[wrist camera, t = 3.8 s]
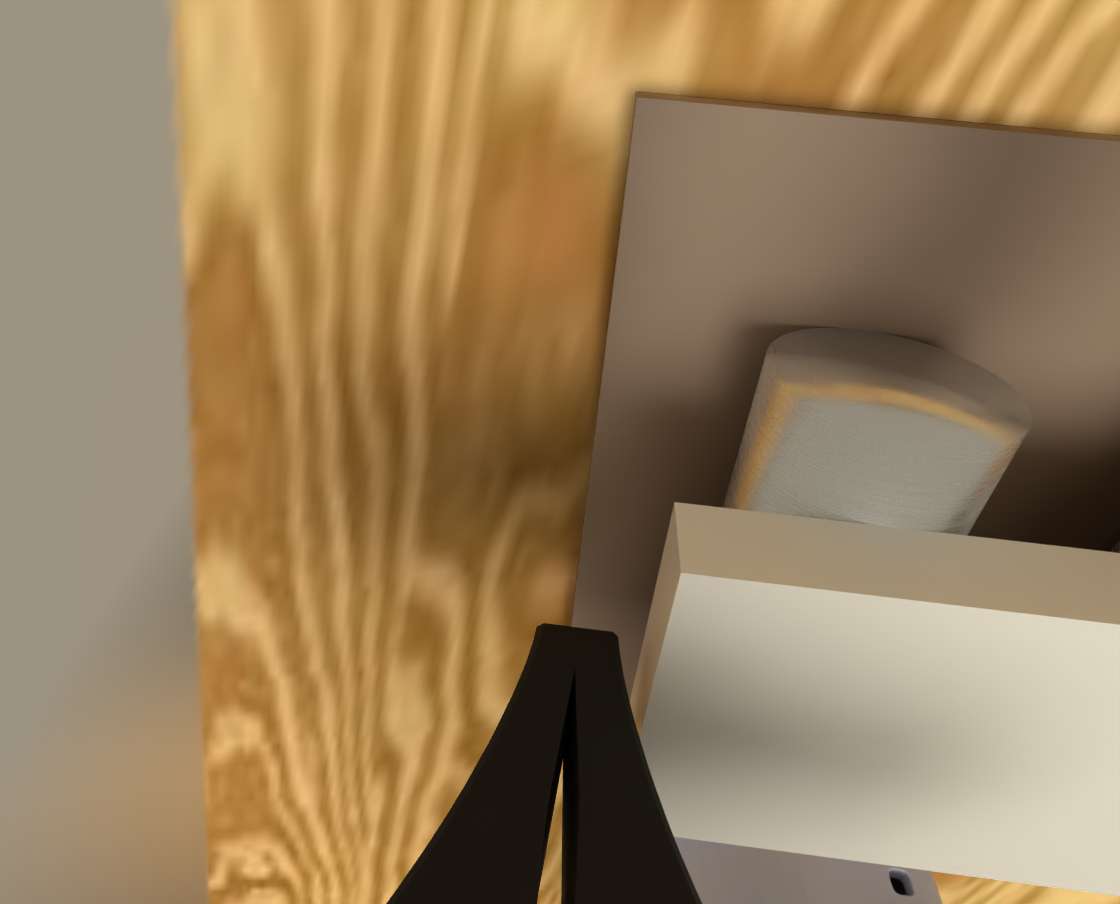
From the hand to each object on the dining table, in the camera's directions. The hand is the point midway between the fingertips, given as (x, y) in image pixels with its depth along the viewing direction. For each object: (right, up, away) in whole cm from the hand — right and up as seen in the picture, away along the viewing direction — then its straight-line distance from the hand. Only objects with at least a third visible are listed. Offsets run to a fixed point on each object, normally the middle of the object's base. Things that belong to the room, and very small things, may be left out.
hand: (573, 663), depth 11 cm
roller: (+4, +2, +3) cm, 6 cm away
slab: (+9, -1, 0) cm, 9 cm away
